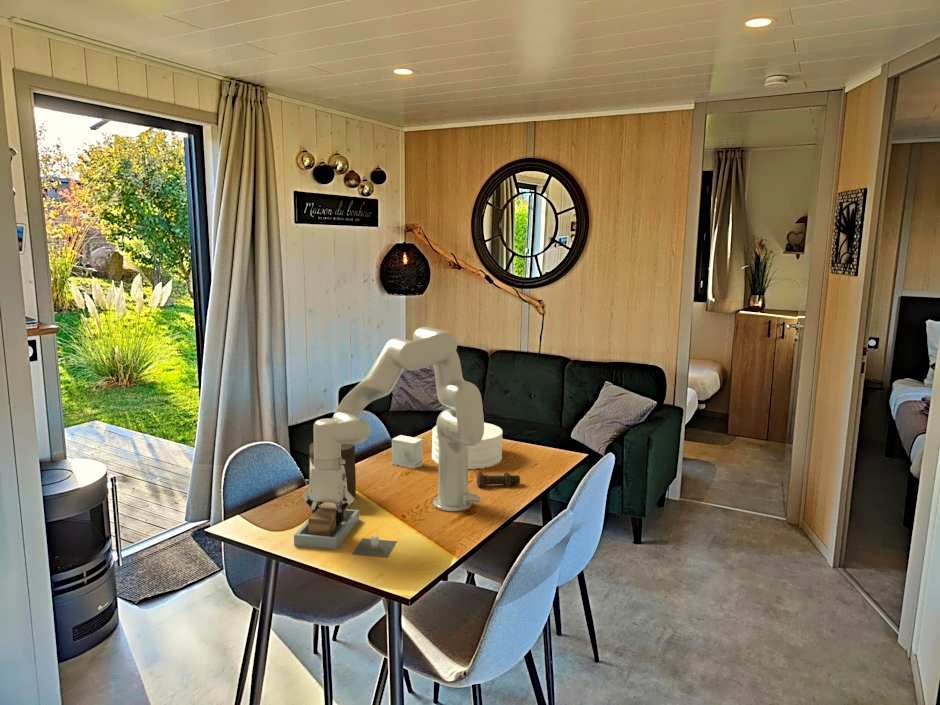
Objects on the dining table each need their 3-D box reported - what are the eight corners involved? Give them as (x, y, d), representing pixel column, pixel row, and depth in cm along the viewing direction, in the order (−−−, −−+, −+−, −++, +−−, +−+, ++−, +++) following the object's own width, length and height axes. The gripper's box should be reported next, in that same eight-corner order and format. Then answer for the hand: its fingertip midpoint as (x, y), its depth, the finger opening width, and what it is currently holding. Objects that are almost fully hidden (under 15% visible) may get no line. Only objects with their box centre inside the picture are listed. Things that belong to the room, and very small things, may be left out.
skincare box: (391, 465, 250) (391, 438, 248) (400, 460, 256) (400, 434, 254) (414, 469, 245) (414, 442, 244) (423, 464, 251) (423, 438, 249)
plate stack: (475, 443, 280) (476, 417, 279) (515, 461, 258) (516, 433, 256) (418, 453, 265) (419, 426, 263) (456, 474, 242) (457, 444, 240)
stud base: (397, 544, 183) (397, 531, 182) (387, 561, 173) (387, 547, 173) (362, 541, 184) (362, 528, 184) (351, 557, 175) (351, 543, 174)
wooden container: (320, 487, 225) (319, 425, 222) (361, 491, 223) (361, 428, 219) (302, 503, 211) (301, 437, 207) (346, 507, 208) (345, 441, 205)
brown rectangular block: (329, 537, 180) (329, 520, 179) (308, 535, 181) (308, 518, 180) (346, 517, 194) (346, 501, 193) (326, 515, 195) (326, 499, 194)
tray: (359, 522, 197) (359, 510, 196) (336, 552, 177) (335, 538, 177) (321, 519, 199) (321, 506, 198) (294, 548, 179) (293, 534, 179)
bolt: (519, 490, 231) (477, 491, 229) (516, 479, 235) (476, 479, 233) (522, 480, 228) (480, 480, 225) (519, 468, 232) (478, 469, 229)
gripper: (361, 460, 187) (361, 520, 190) (303, 456, 190) (304, 515, 192) (352, 469, 180) (352, 530, 183) (293, 464, 182) (294, 525, 185)
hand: (328, 522), depth 187 cm, fingers closed on brown rectangular block, 6 cm apart
